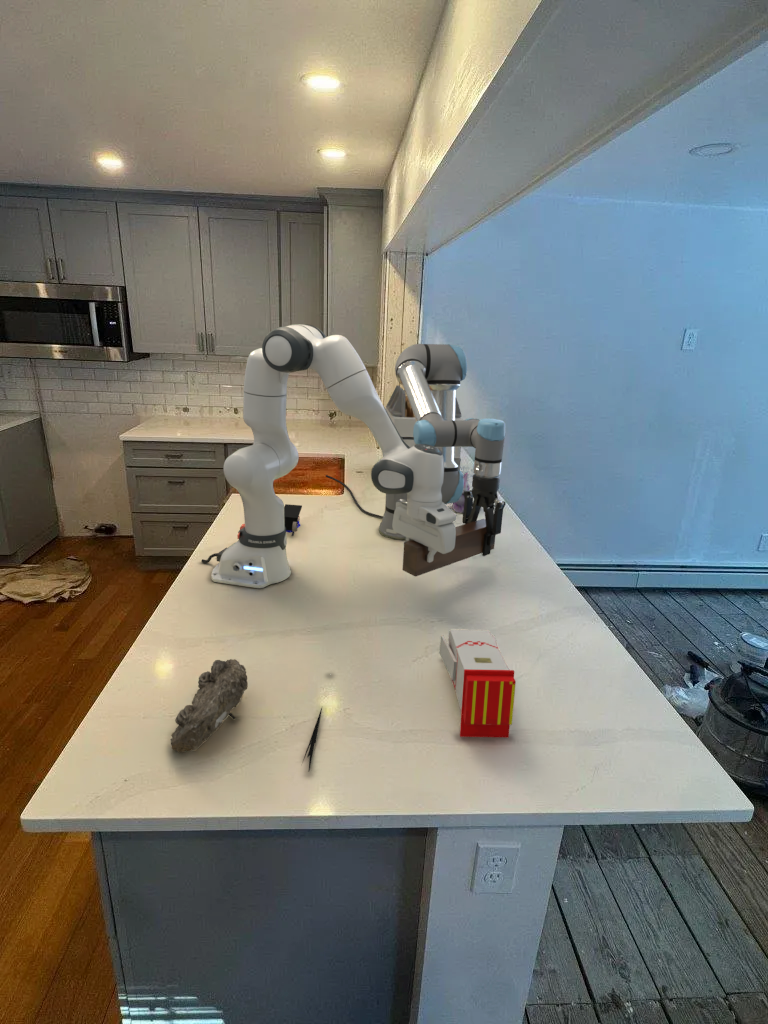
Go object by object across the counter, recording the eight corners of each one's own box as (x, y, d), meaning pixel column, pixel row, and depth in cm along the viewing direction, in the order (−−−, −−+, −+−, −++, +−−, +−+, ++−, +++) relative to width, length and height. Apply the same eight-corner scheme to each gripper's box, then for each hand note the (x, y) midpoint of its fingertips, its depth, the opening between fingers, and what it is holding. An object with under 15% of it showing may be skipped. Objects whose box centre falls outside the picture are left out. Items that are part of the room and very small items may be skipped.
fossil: (195, 660, 117) (247, 628, 112) (227, 691, 120) (279, 661, 115) (146, 746, 98) (206, 711, 93) (185, 779, 101) (245, 748, 96)
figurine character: (298, 542, 192) (303, 521, 206) (297, 522, 189) (302, 503, 202) (278, 541, 192) (284, 521, 205) (277, 521, 189) (283, 502, 202)
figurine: (459, 514, 221) (463, 477, 216) (445, 506, 229) (448, 470, 224) (479, 511, 225) (483, 475, 220) (464, 503, 234) (467, 468, 228)
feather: (331, 679, 122) (336, 673, 122) (307, 777, 96) (313, 769, 95) (324, 675, 122) (329, 669, 121) (298, 772, 95) (304, 764, 95)
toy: (489, 613, 130) (525, 677, 101) (485, 667, 133) (518, 744, 104) (437, 612, 130) (457, 676, 101) (434, 666, 133) (453, 743, 103)
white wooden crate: (381, 463, 289) (385, 382, 275) (444, 464, 292) (450, 384, 279) (389, 482, 257) (393, 392, 243) (459, 483, 261) (467, 394, 247)
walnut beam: (402, 570, 150) (403, 542, 148) (481, 543, 170) (483, 518, 168) (415, 576, 147) (417, 548, 144) (494, 548, 167) (496, 523, 164)
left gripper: (388, 499, 151) (385, 547, 155) (443, 521, 136) (439, 573, 141) (405, 495, 155) (403, 541, 159) (461, 516, 140) (456, 567, 145)
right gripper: (453, 469, 163) (447, 544, 170) (503, 485, 150) (494, 565, 158) (470, 466, 167) (464, 539, 175) (521, 480, 155) (511, 558, 162)
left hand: (420, 557), depth 150 cm, fingers closed on walnut beam, 5 cm apart
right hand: (478, 551), depth 166 cm, fingers closed on walnut beam, 5 cm apart
